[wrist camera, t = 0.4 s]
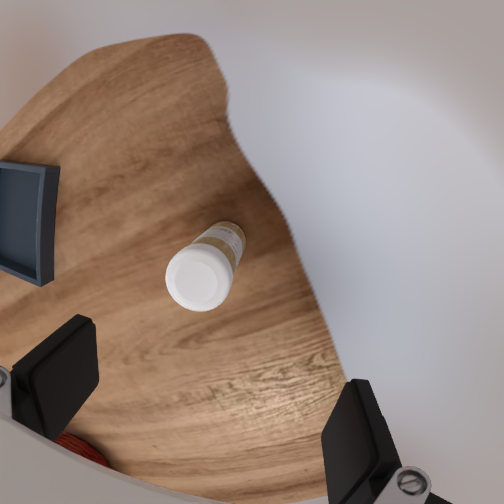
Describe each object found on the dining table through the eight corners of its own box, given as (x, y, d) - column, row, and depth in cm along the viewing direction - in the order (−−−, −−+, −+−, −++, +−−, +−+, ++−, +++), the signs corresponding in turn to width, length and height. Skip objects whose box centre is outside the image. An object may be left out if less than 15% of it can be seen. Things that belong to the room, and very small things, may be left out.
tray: (1, 160, 33) (-13, 160, 30) (60, 167, 33) (45, 167, 30) (-2, 257, 37) (-15, 262, 34) (53, 280, 36) (40, 287, 33)
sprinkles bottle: (199, 250, 34) (155, 295, 21) (215, 213, 33) (177, 237, 20) (236, 268, 34) (213, 324, 21) (254, 231, 33) (240, 267, 20)
